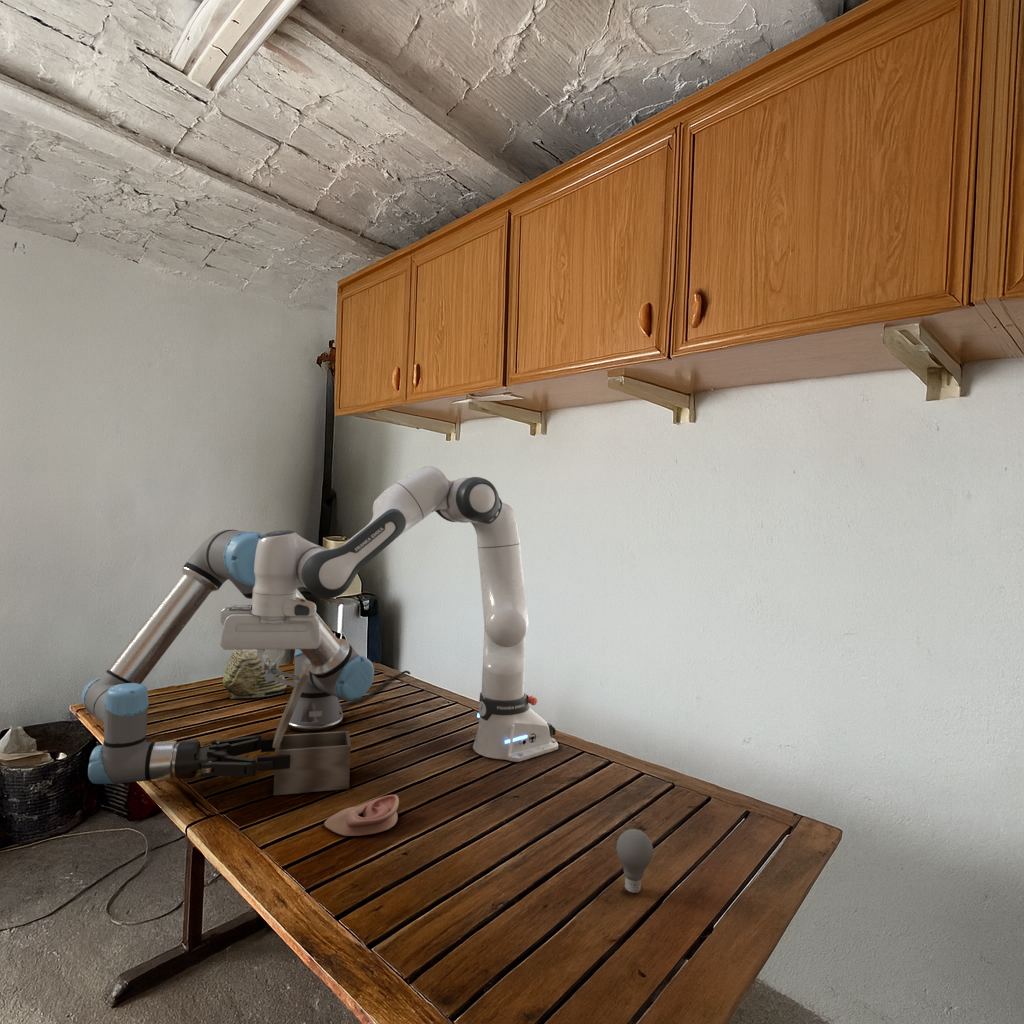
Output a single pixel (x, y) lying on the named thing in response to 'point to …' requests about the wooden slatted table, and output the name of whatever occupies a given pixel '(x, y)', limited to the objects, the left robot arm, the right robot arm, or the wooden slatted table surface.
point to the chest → (314, 763)
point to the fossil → (249, 676)
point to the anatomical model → (365, 817)
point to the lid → (292, 701)
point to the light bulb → (634, 857)
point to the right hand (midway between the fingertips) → (270, 669)
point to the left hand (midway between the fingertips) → (291, 752)
